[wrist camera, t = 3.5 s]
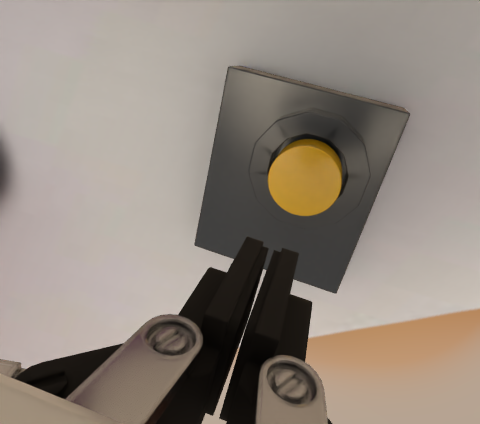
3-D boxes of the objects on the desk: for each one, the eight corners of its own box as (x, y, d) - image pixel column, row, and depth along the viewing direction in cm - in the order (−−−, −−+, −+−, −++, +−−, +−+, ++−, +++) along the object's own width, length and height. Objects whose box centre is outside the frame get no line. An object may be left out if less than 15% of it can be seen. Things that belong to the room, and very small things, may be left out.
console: (238, 65, 25) (217, 66, 21) (405, 107, 23) (416, 118, 19) (205, 231, 30) (183, 258, 26) (337, 276, 29) (335, 311, 25)
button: (283, 130, 22) (277, 137, 20) (352, 149, 21) (352, 158, 19) (267, 192, 23) (260, 204, 21) (329, 211, 23) (327, 225, 21)
